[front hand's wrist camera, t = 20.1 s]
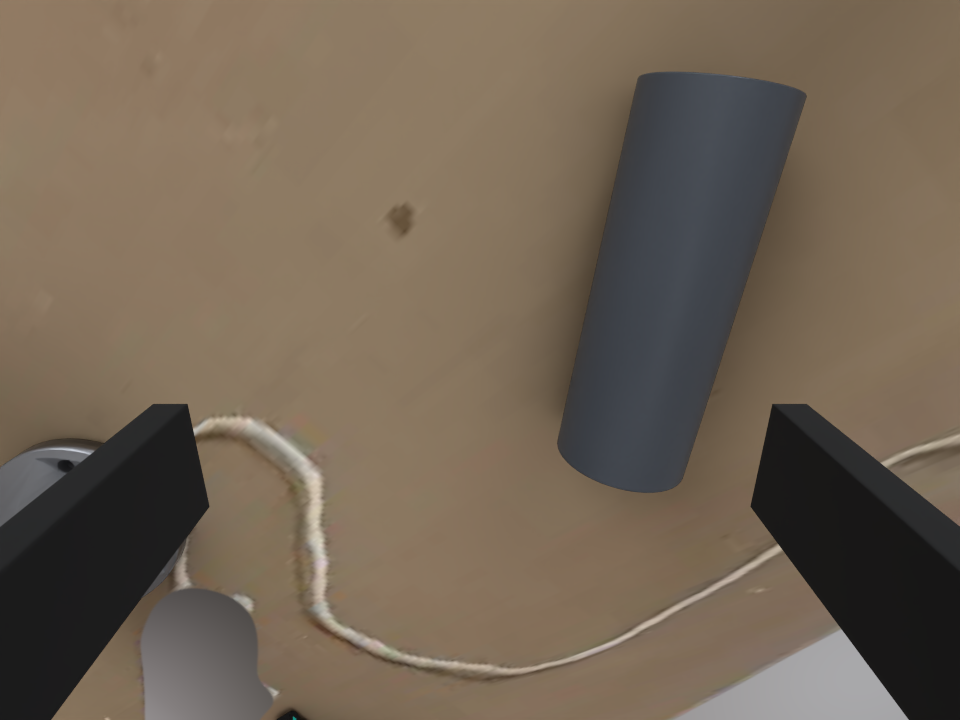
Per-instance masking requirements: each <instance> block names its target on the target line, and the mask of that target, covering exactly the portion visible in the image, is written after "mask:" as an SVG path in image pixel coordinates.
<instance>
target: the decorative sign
mask: <svg viewBox="0 0 960 720" xmlns="http://www.w3.org/2000/svg"><path fill="white" fill-rule="evenodd" d="M277 720H300V717H299V715H298V714H297V713H296V712H294V711H290V712H289V713H287V714H285V715H284V716H282V717H280V718H278V719H277Z"/></svg>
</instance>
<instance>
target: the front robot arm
mask: <svg viewBox="0 0 960 720" xmlns="http://www.w3.org/2000/svg"><path fill="white" fill-rule="evenodd" d="M208 508H209V502H208V498H207V493H206V488H205V484H204V479H203V474H202V470H201V465H200V460H199V456H198V451H197V446H196V442H195V437H194V432H193V428H192V423H191V418H190V414H189V409H188V404H153V405H152V406H150V407H149V408H148V409H147V410H145V411H144V412H143V413H142V414H140V415H139V416H138V417H137V418H135V419H134V420H133V421H132V422H130V423H129V424H128V425H127V426H125V427H124V428H123V429H122V430H120V431H119V432H118V433H117V434H115V435H114V436H113V437H112V438H110V439H109V440H108V441H107V442H105V443H104V444H103V443H100V442H96V441H90V440H83V439H56V440H50V441H46V442H42V443H39V444H37V445H34V446H32V447H30V448H28V449H26V450H25V451H23V452H22V453H20V454H19V455H17V456H16V457H14V458H13V459H11V460H10V461H8V462H7V463H5V464H4V465H3V466H2V467H0V720H51V719H52V718H53V716H54V715H55V714H56V712H57V711H58V710H59V708H60V707H61V706H62V704H63V703H64V702H65V700H66V699H67V698H68V696H69V695H70V694H71V692H72V691H73V690H74V688H75V687H76V685H77V684H78V683H79V681H80V680H81V679H82V677H83V676H84V675H85V673H86V672H87V671H88V669H89V668H90V667H91V665H92V664H93V663H94V661H95V660H96V659H97V657H98V656H99V655H100V653H101V652H102V650H103V649H104V648H105V646H106V645H107V644H108V642H109V641H110V640H111V638H112V637H113V636H114V634H115V633H116V632H117V630H118V629H119V628H120V626H121V625H122V624H123V622H124V621H125V620H126V618H127V617H128V615H129V614H130V613H131V611H132V610H133V609H134V607H135V606H136V605H137V603H138V602H139V601H140V599H141V598H142V597H144V596H145V595H147V594H148V593H149V592H151V591H152V590H153V589H154V588H156V587H157V586H158V585H159V584H160V583H162V582H163V580H164V579H165V578H166V577H167V576H168V574H169V573H170V572H171V570H172V569H173V567H174V566H175V565H176V563H177V562H178V560H179V559H180V557H181V555H182V553H183V550H184V547H185V543H186V537H187V536H188V535H189V533H190V532H191V531H192V529H193V528H194V527H195V525H196V524H197V523H198V521H199V520H200V519H201V517H202V516H203V515H204V513H205V512H206V511H207V509H208ZM751 508H752V509H753V511H754V512H755V513H756V515H757V516H758V517H759V519H760V520H761V521H762V523H763V524H764V525H765V527H766V528H767V529H768V531H769V532H770V533H771V535H772V536H773V537H774V539H775V540H776V541H777V543H778V544H779V546H780V547H781V548H782V550H783V551H784V552H785V554H786V555H787V556H788V558H789V559H790V560H791V562H792V563H793V564H794V566H795V567H796V568H797V570H798V571H799V572H800V574H801V575H802V576H803V578H804V579H805V581H806V582H807V583H808V585H809V586H810V587H811V589H812V590H813V591H814V593H815V594H816V595H817V597H818V598H819V599H820V601H821V602H822V603H823V605H824V606H825V607H826V609H827V610H828V611H829V613H830V614H831V615H832V617H833V618H834V620H835V621H836V622H837V624H838V625H839V626H840V628H841V629H842V630H843V632H844V633H845V634H846V636H847V637H848V638H849V640H850V641H851V642H852V644H853V645H854V646H855V648H856V649H857V650H858V652H859V653H860V655H861V656H862V657H863V659H864V660H865V661H866V663H867V664H868V665H869V667H870V668H871V669H872V671H873V672H874V673H875V675H876V676H877V677H878V679H879V680H880V681H881V683H882V684H883V685H884V687H885V688H886V690H887V691H888V692H889V694H890V695H891V696H892V697H893V699H894V700H895V702H896V703H897V704H898V706H899V707H900V708H901V710H902V711H903V712H904V714H905V715H906V716H907V718H908V719H909V720H960V527H959V526H958V525H957V524H956V523H955V522H953V521H952V520H951V519H950V518H948V517H947V516H946V515H945V514H943V513H942V512H941V511H940V510H938V509H937V508H936V507H935V506H933V505H932V504H931V503H930V502H928V501H927V500H926V499H925V498H923V497H922V496H921V495H920V494H918V493H917V492H916V491H915V490H913V489H912V488H911V487H910V486H908V485H907V484H906V483H905V482H903V481H902V480H901V479H900V478H898V477H897V476H896V475H895V474H893V473H892V472H891V471H890V470H888V469H887V468H886V467H885V466H883V465H882V464H881V463H880V462H878V461H877V460H876V459H875V458H873V457H872V456H871V455H870V454H868V453H867V452H866V451H865V450H863V449H862V448H861V447H860V446H858V445H857V444H856V443H855V442H853V441H852V440H851V439H850V438H848V437H847V436H846V435H845V434H843V433H842V432H841V431H840V430H838V429H837V428H836V427H835V426H833V425H832V424H831V423H830V422H828V421H827V420H826V419H825V418H823V417H822V416H821V415H820V414H818V413H817V412H816V411H815V410H813V409H812V408H811V407H810V406H808V405H807V404H772V409H771V414H770V418H769V423H768V428H767V432H766V437H765V442H764V446H763V451H762V456H761V460H760V465H759V470H758V474H757V479H756V484H755V488H754V493H753V498H752V502H751Z"/></svg>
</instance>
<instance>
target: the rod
mask: <svg viewBox="0 0 960 720" xmlns="http://www.w3.org/2000/svg"><path fill="white" fill-rule="evenodd" d="M805 100H806V94H805V93H804V92H802V91H800V90H798V89H796V88H793V87H790V86H786V85H782V84H778V83H774V82H769V81H764V80H758V79H752V78H746V77H738V76H730V75H721V74H710V73H696V72H655V73H647V74H643V75H641V76H639V77H638V80H637V84H636V89H635V93H634V98H633V102H632V107H631V111H630V116H629V120H628V125H627V129H626V134H625V138H624V143H623V147H622V152H621V156H620V161H619V165H618V170H617V174H616V179H615V183H614V188H613V193H612V197H611V202H610V206H609V211H608V215H607V220H606V224H605V229H604V233H603V238H602V242H601V247H600V251H599V256H598V260H597V265H596V269H595V274H594V278H593V283H592V287H591V292H590V296H589V301H588V305H587V310H586V314H585V319H584V323H583V328H582V332H581V337H580V342H579V346H578V351H577V355H576V360H575V364H574V369H573V373H572V378H571V382H570V387H569V391H568V396H567V400H566V405H565V409H564V414H563V418H562V423H561V427H560V432H559V436H558V442H557V444H558V449H559V451H560V453H561V455H562V457H563V458H564V459H565V460H566V461H567V462H568V463H569V464H570V465H571V466H572V467H573V468H575V469H576V470H577V471H579V472H580V473H582V474H584V475H585V476H587V477H589V478H591V479H593V480H595V481H598V482H600V483H602V484H605V485H608V486H611V487H614V488H618V489H622V490H627V491H633V492H643V493H654V492H662V491H666V490H669V489H672V488H674V487H675V486H677V485H678V484H679V483H680V482H681V480H682V479H683V476H684V472H685V469H686V466H687V463H688V460H689V457H690V454H691V451H692V448H693V445H694V442H695V439H696V436H697V432H698V429H699V426H700V423H701V420H702V417H703V414H704V411H705V408H706V405H707V402H708V399H709V395H710V392H711V389H712V386H713V383H714V380H715V377H716V374H717V371H718V368H719V365H720V362H721V359H722V355H723V352H724V349H725V346H726V343H727V340H728V337H729V334H730V331H731V328H732V325H733V322H734V318H735V315H736V312H737V309H738V306H739V303H740V300H741V297H742V294H743V291H744V288H745V285H746V282H747V278H748V275H749V272H750V269H751V266H752V263H753V260H754V257H755V254H756V251H757V248H758V245H759V241H760V238H761V235H762V232H763V229H764V226H765V223H766V220H767V217H768V214H769V211H770V208H771V205H772V201H773V198H774V195H775V192H776V189H777V186H778V183H779V180H780V177H781V174H782V171H783V168H784V164H785V161H786V158H787V155H788V152H789V149H790V146H791V143H792V140H793V137H794V134H795V131H796V128H797V124H798V121H799V118H800V115H801V112H802V109H803V106H804V103H805Z"/></svg>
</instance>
